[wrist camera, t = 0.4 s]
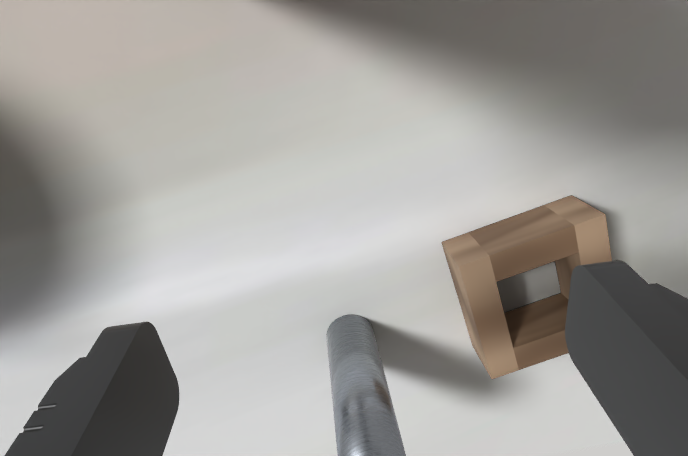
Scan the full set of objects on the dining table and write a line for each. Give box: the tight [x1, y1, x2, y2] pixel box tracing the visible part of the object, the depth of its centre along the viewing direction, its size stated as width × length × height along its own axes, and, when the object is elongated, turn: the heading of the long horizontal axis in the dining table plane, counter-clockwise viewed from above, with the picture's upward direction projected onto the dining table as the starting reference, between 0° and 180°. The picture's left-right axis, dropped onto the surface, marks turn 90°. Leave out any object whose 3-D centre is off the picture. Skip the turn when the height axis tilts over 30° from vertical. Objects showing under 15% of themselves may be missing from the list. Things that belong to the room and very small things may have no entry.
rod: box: [327, 315, 406, 456], centre depth 26 cm, size 3×3×12 cm
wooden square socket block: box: [442, 195, 612, 379], centre depth 29 cm, size 9×9×4 cm
